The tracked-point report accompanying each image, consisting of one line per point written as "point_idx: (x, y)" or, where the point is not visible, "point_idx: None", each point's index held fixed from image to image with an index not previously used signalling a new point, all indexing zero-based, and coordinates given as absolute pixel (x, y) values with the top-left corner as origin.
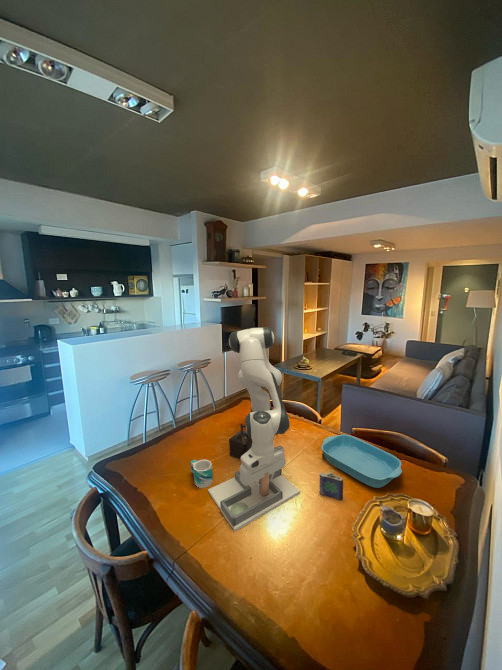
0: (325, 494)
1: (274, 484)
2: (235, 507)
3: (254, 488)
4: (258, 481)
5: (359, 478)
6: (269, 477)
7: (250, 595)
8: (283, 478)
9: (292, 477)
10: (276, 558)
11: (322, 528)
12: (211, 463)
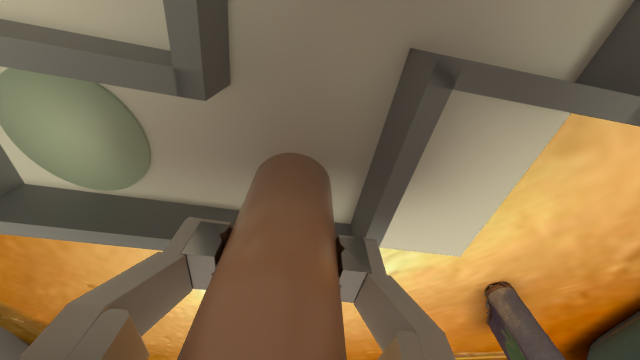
0: (492, 304)
1: (396, 209)
2: (44, 100)
3: (294, 47)
4: (143, 353)
5: (623, 353)
6: (362, 288)
7: None
8: (531, 144)
9: (575, 156)
10: (173, 316)
11: (349, 333)
12: None
